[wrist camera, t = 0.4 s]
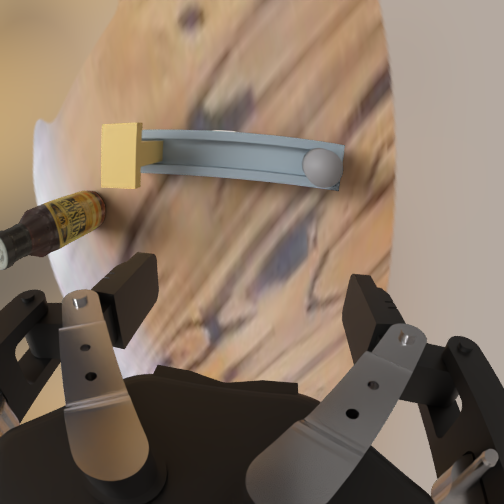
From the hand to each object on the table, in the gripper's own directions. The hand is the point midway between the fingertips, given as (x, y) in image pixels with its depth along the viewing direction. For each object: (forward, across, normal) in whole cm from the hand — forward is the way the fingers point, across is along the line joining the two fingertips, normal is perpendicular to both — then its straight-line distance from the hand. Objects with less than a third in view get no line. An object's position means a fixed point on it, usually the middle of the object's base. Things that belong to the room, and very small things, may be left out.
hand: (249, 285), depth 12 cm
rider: (+23, +14, -4) cm, 27 cm away
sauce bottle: (+28, +27, +5) cm, 39 cm away
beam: (+28, +6, -3) cm, 29 cm away
